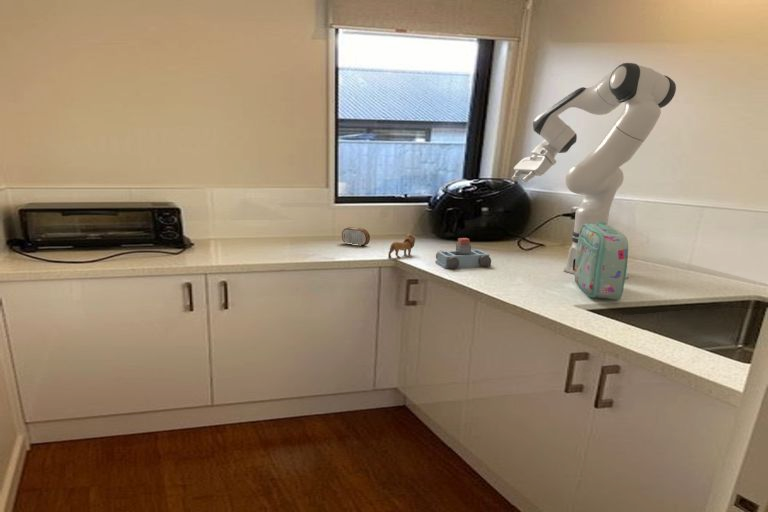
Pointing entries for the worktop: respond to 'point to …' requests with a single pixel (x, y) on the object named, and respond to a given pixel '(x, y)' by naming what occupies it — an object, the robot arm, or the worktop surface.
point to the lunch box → (601, 261)
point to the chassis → (462, 259)
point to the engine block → (463, 247)
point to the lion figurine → (403, 246)
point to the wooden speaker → (356, 236)
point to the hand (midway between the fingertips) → (518, 180)
